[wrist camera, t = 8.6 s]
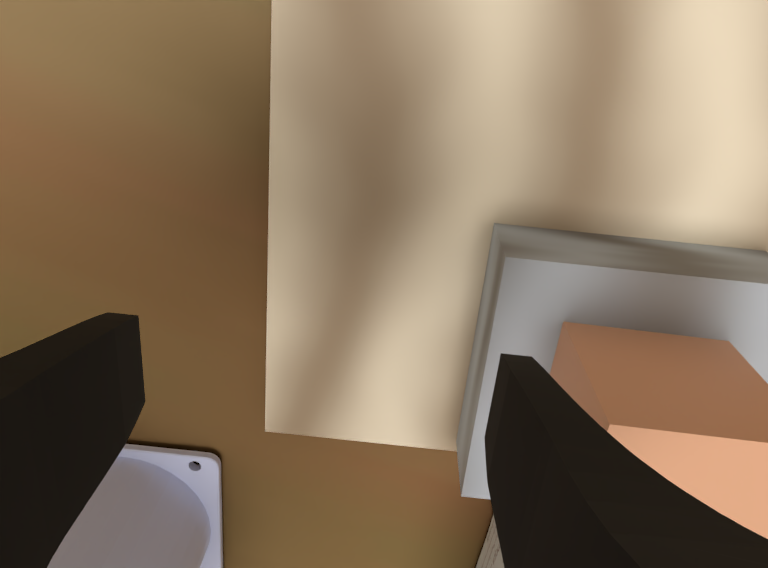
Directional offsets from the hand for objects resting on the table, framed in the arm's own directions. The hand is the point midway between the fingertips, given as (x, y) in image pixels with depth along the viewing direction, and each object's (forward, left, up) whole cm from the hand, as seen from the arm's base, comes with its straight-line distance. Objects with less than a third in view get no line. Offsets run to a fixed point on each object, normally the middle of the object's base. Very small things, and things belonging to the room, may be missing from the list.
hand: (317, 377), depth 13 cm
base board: (+6, 0, -10) cm, 12 cm away
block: (+9, -4, -6) cm, 12 cm away
